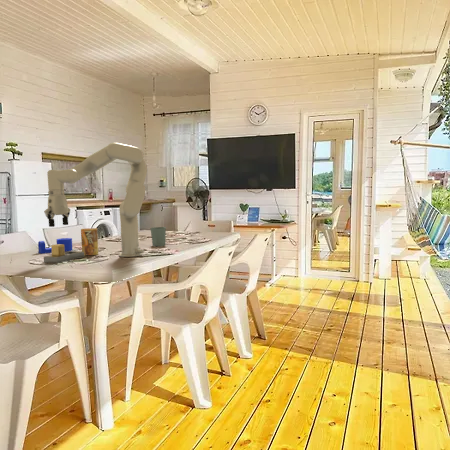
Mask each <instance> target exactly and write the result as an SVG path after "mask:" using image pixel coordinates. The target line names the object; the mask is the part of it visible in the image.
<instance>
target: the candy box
mask: <svg viewBox="0 0 450 450" xmlns="http://www.w3.org/2000/svg"><path fill="white" fill-rule="evenodd" d="M80 236H81V237H80V238H81V252H84V256H97V255H99V238H98V237H99V236H98V228H97V227H94V228H93V227H92V228H91V227H90V228H81V229H80Z"/></svg>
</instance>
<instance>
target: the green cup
mask: <svg viewBox="0 0 450 450" xmlns="http://www.w3.org/2000/svg"><path fill="white" fill-rule="evenodd" d="M166 231H167V227H165V226H156V227H151V228H150V234H151V243H152V244H151V245H152V247H164V246H166V245H167V243H166V242H167V241H166V237H167V235H166Z"/></svg>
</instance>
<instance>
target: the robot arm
mask: <svg viewBox="0 0 450 450" xmlns="http://www.w3.org/2000/svg"><path fill="white" fill-rule="evenodd" d="M144 157H145V156H144V152H143V150H142V149H141V148H140V147H137V146H132V145H128V144H124V143H119V142H111V143H109V144H108V145H106V146H104V147H103V148H101V149H100V150H98V151H96V152H94V153H92V154H90V155H89V156H88V157H86V158H85V159H84V160H82V161H81V162H80V163H78V164H76V165H75V166H73V167H71V168H69V169H48V171H47V174H46V175H47V184H48V185H47V186H48V187H47V188H48V192H47V193H48V197H47V208H45V210H44V215H45V217H46V218H47V220H48V227H49V228H53V227H55V225H56V224H55V219H54V217H55V216H62V219H61V220H62V225H63V226H68V225H69V216H70V213H71V209H70V207H69V206H68V201H67V196H66V195H65V185H64V183H66V184H70V185H71V184H75V183H76V182H78V181H80V180H83V178H85V177H87V176H88V175H90V174H93V173H95V172H97V171H98V170H100V169H102V168H104V167H105V166H107V165H109V164H111V163H112V162H115V161H117V160H120V161H123V162H128V163H129V165H130V167H131V169H130V175H129V178H128V182H127V184H126V187H125V193H126V194H125V198H124V200H123V201H121V203H120V205H119V209H118V211H119V219H120V243H121V252H120V253H119V254H118V257H121V258H123V257H124V258H133V257H140V256H142V255H143V253H144V252H145V249H141V246H139V245H140V244H139V220H138V219H139V218H138V215H139V213H140V211H141V209H142V205H143V202H144V199H145V195H146V187H145V181H146V176H147V172H148V169H147V163H146V161H145V159H144Z"/></svg>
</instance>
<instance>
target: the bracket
mask: <svg viewBox="0 0 450 450" xmlns="http://www.w3.org/2000/svg"><path fill="white" fill-rule="evenodd" d="M55 240H56V244H64V248H65V252H69V251H71V250H72V251H74V250H73V238H71V237H66V238H65V237H62V238H57V239H55ZM37 247H38V248H37V249H38V250H37V251H38V254H42V255H43V254H44V255H45V254H52V248H51V247H46V242H45V240H39V241H38V242H37Z"/></svg>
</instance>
